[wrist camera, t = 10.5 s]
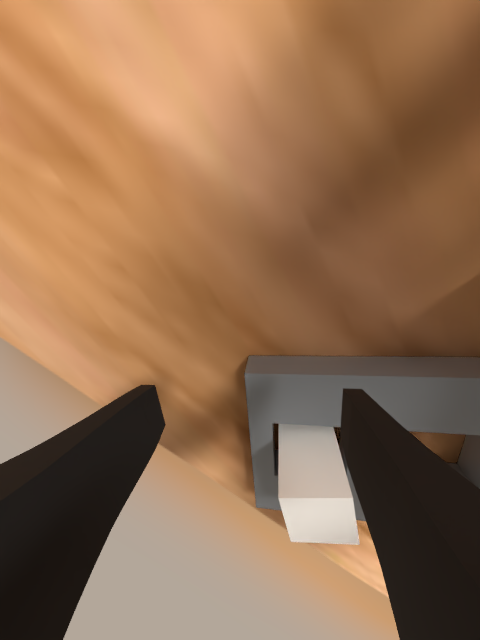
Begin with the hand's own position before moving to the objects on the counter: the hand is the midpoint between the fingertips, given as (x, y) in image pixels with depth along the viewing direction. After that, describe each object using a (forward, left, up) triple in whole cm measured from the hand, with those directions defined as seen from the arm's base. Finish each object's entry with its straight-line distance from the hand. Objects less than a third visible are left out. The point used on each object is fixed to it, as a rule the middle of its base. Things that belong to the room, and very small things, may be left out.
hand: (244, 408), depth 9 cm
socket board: (-8, +10, -9) cm, 15 cm away
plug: (-3, +10, -9) cm, 14 cm away
